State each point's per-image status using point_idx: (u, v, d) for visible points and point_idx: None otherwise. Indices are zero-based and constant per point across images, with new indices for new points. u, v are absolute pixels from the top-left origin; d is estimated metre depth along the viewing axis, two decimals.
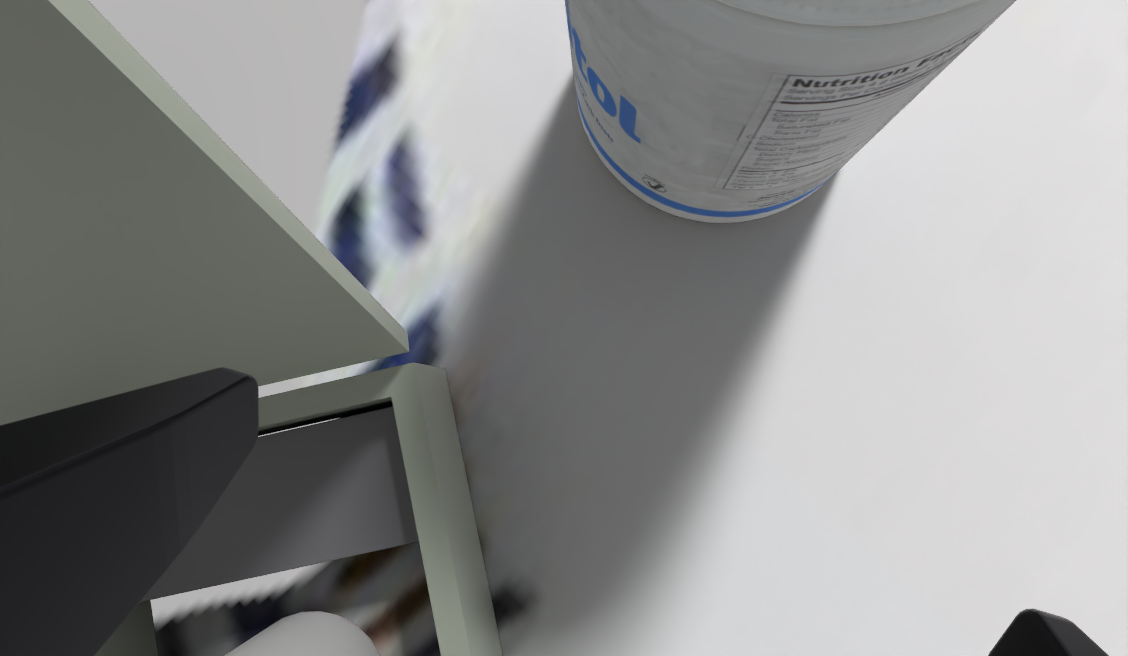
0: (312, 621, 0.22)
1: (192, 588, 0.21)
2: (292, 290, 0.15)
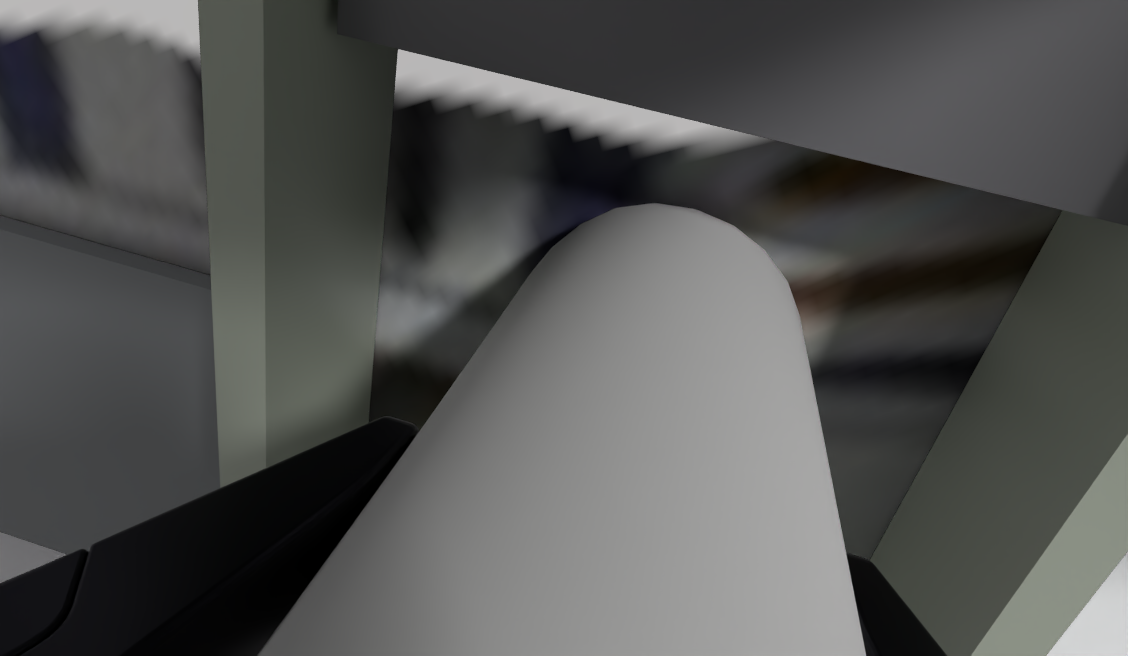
0: (741, 252, 0.10)
1: (550, 80, 0.09)
2: None
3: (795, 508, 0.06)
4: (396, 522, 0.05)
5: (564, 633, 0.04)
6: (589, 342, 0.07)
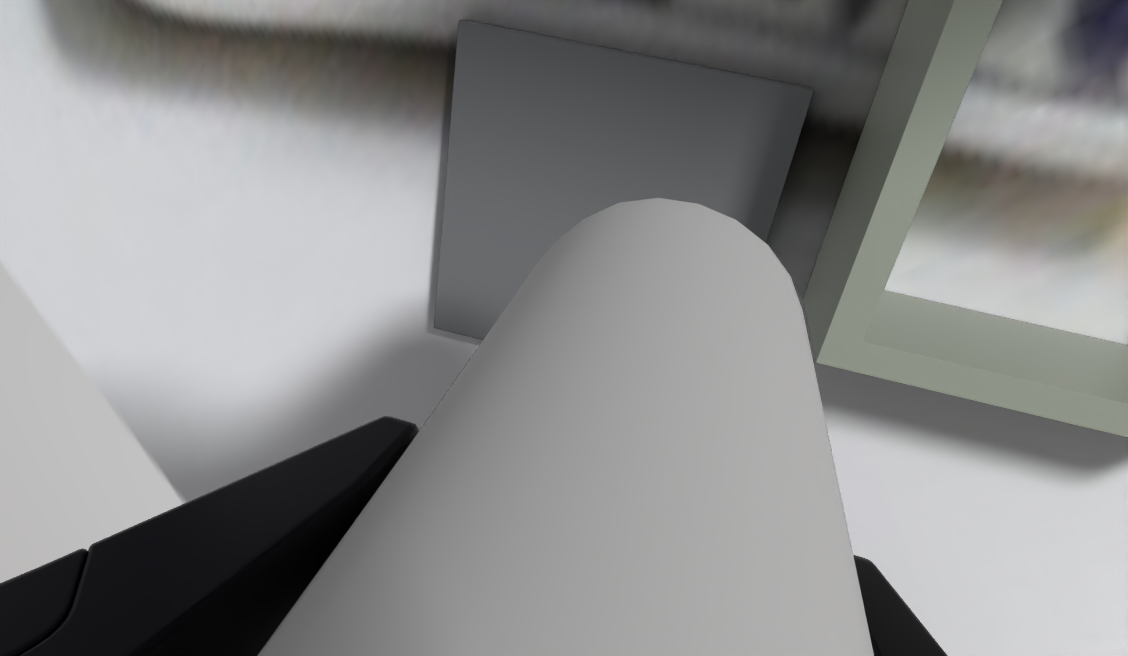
0: (744, 246, 0.10)
1: None
2: None
3: (803, 500, 0.06)
4: (403, 513, 0.05)
5: (571, 621, 0.04)
6: (594, 335, 0.07)
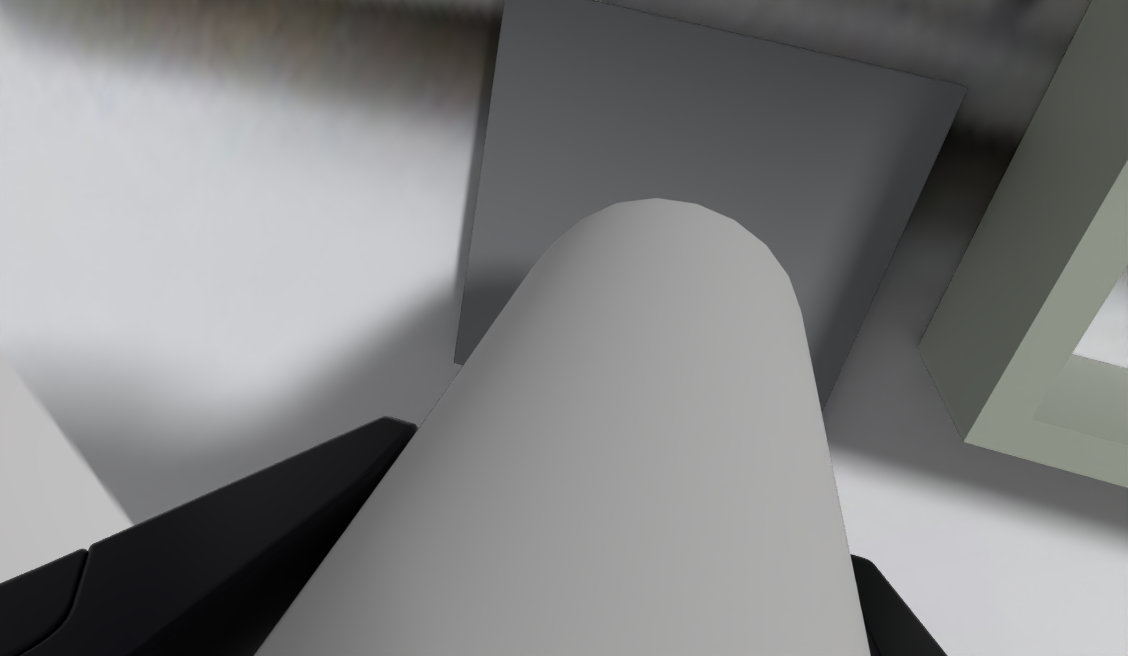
0: (743, 246, 0.10)
1: None
2: None
3: (798, 500, 0.06)
4: (397, 513, 0.05)
5: (565, 624, 0.04)
6: (591, 335, 0.07)
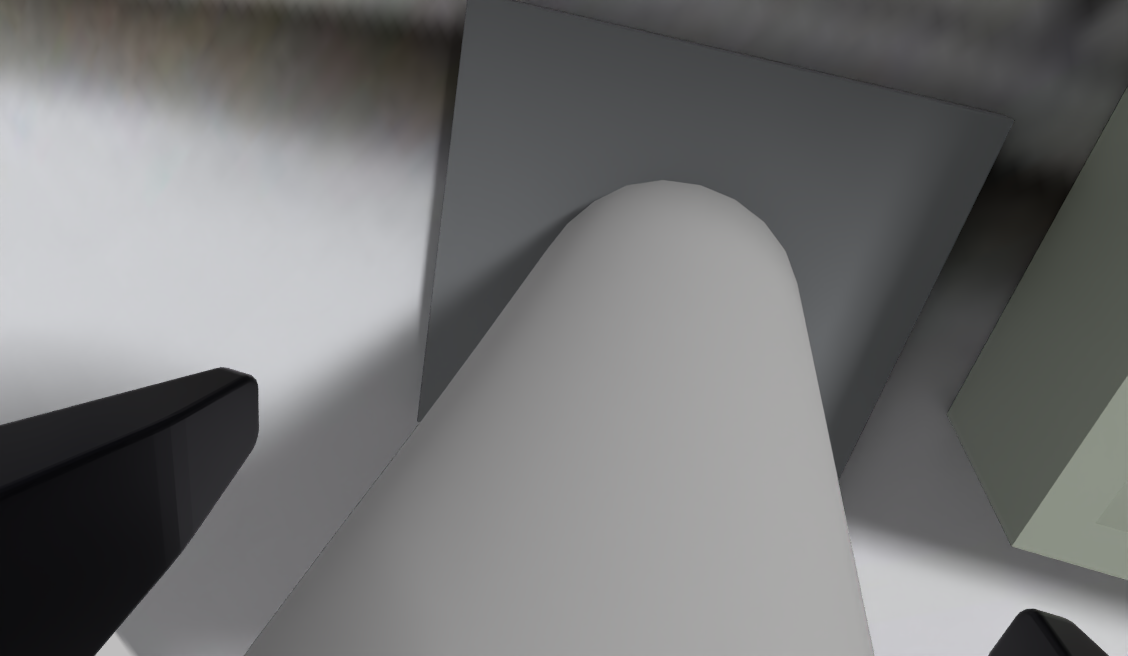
0: (743, 220, 0.11)
1: None
2: None
3: (789, 416, 0.07)
4: (452, 419, 0.06)
5: (598, 478, 0.05)
6: (608, 287, 0.08)
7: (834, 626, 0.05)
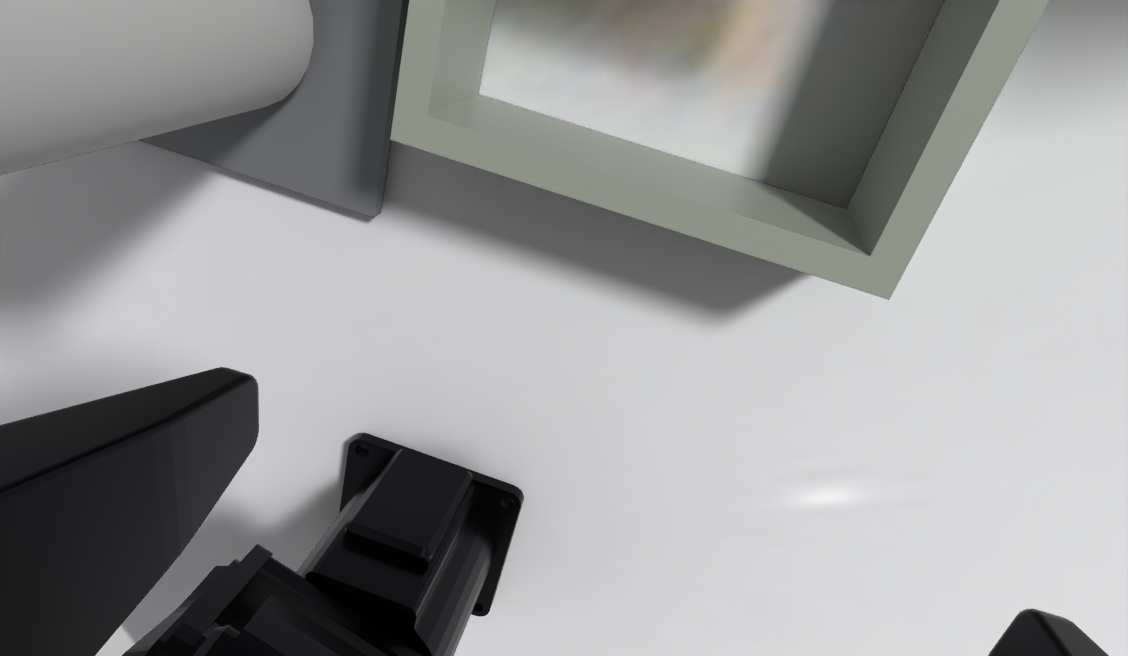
0: None
1: None
2: None
3: None
4: None
5: None
6: None
7: None
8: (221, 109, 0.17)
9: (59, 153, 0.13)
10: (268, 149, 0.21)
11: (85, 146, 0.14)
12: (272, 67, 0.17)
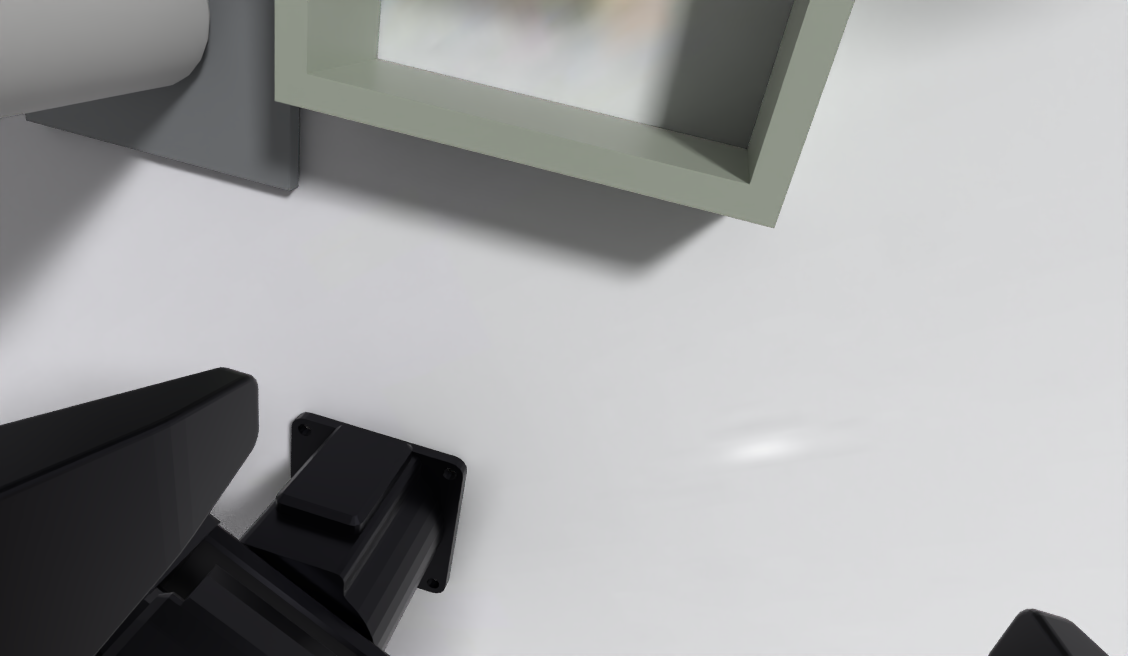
0: None
1: None
2: None
3: None
4: None
5: None
6: None
7: None
8: (111, 83, 0.17)
9: None
10: (182, 129, 0.21)
11: None
12: (162, 39, 0.18)
